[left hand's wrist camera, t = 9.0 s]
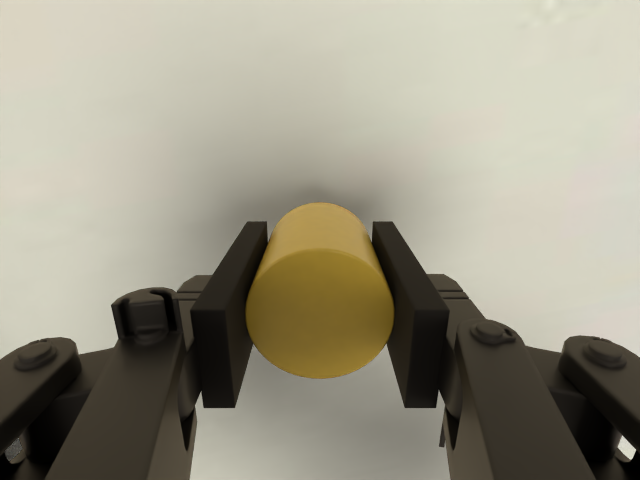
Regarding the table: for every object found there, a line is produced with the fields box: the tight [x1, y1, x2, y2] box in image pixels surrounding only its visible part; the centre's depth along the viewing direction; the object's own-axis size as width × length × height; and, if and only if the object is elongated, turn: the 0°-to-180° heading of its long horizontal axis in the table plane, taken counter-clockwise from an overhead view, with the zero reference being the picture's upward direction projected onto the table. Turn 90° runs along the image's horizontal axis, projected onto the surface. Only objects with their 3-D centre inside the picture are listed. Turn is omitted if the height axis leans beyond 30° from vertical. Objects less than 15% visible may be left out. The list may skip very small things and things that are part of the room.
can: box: [245, 202, 395, 379], centre depth 12 cm, size 4×4×5 cm
